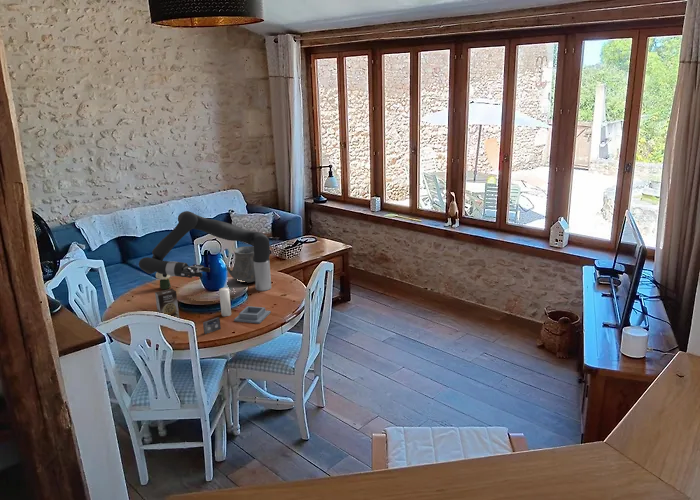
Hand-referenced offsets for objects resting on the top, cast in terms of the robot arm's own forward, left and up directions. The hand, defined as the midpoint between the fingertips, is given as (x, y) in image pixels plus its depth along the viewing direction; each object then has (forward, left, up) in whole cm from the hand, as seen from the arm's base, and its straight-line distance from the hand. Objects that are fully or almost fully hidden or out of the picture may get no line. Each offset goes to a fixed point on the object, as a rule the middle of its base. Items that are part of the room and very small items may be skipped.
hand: (205, 272), depth 280 cm
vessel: (-52, -3, -23) cm, 57 cm away
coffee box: (+13, -16, -23) cm, 31 cm away
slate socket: (-1, +24, -23) cm, 33 cm away
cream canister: (-1, +9, -23) cm, 24 cm away
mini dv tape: (+19, +12, -23) cm, 32 cm away
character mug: (-29, -46, -23) cm, 59 cm away
